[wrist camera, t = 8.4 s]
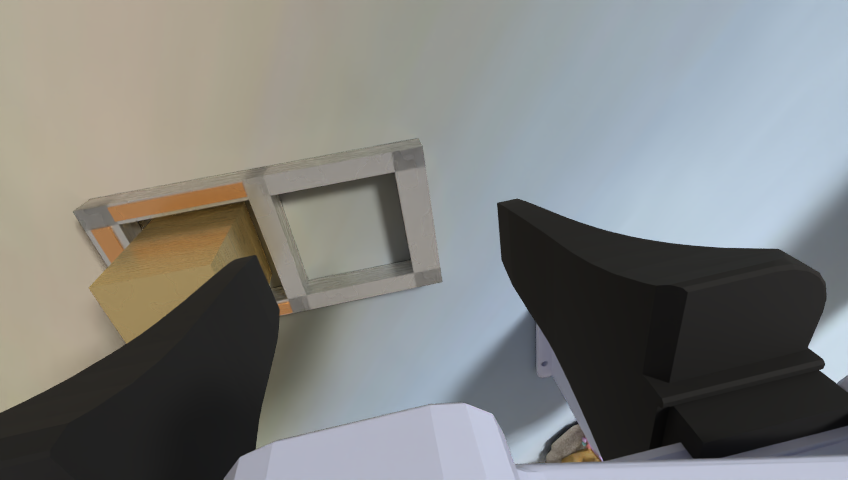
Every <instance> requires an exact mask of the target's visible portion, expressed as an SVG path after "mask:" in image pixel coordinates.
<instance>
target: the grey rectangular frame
mask: <svg viewBox="0 0 848 480" xmlns="http://www.w3.org/2000/svg"><path fill="white" fill-rule="evenodd" d="M392 172H394V174H395V179H396V184H397V190H398V195H399V200H400V205H401V211H402V216H403V221H404V227H405V232H406V237H407V243H408V248H409V253H410V259H411V260H407V261H402V262H397V263H393V264H388V265H383V266H378V267H373V268H368V269H363V270H358V271H353V272H349V273H344V274H339V275H334V276H329V277H324V278H319V279H314V280H309V281H308V278H307V275H306V272H305V269H304V266H303V264H302V261H301V258H300V255H299V252H298V249H297V246H296V244H295V241H294V238H293V235H292V232H291V229H290V226H289V224H288V221H287V218H286V215H285V212H284V209H283V206H282V204H281V201H280V198H279V195H278V194H282V193H287V192H293V191H298V190H303V189H308V188H314V187H319V186H324V185H329V184H335V183H340V182H345V181H350V180H356V179H361V178H366V177H371V176H377V175H382V174H387V173H392ZM245 200H249V201H250V204H251V206H252V209H253V211H254V214H255V216H256V219H257V222H258V224H259V227H260V229H261V232H262V234H263V237H264V239H265V242H266V244H267V247H268V250H269V252H270V255H271V257H272V260H273V262H274V265H275V267H276V270H277V272H278V275H279V278H280V280H281V283H282V285H283V286H280V287H275V288H271V290H272V292H273V295H274V297H275V299H276V302H277V304H278V306H279V308H280V315H279V316H282V315H287V314H291V313H296V312H301V311H306V310H311V309H315V308H320V307H325V306H330V305H335V304H339V303H344V302H349V301H354V300H358V299H363V298H368V297H373V296H378V295H382V294H387V293H392V292H397V291H402V290H406V289H411V288H416V287H421V286H425V285H430V284H435V283H440V282H442V276H441V269H440V263H439V256H438V249H437V242H436V235H435V228H434V222H433V215H432V208H431V201H430V194H429V187H428V181H427V174H426V167H425V160H424V153H423V146H422V144H421V142H420V140H419V139H418V138H416V139H411V140H406V141H400V142H395V143H390V144H384V145H379V146H373V147H368V148H363V149H357V150H352V151H347V152H341V153H336V154H330V155H325V156H320V157H314V158H309V159H303V160H298V161H293V162H287V163H282V164H277V165H271V166H266V167H260V168H255V169H250V170H244V171H239V172H233V173H228V174H223V175H217V176H212V177H207V178H201V179H196V180H190V181H185V182H180V183H174V184H169V185H164V186H158V187H153V188H147V189H142V190H137V191H131V192H126V193H120V194H115V195H110V196H104V197H99V198H94V199H89V200H88V201H87V202H85V203H84V204H83V205H81V206H80V207H78V208H77V209H76V210H74V211H73V213H74V215H75V216H76V218H77V219H78V221H79V222H80V224H81V225H82V227H83V229H84V230H85V232H86V233H87V235H88V236H89V238H90V239H91V241H92V243H93V244H94V246H95V247H96V249H97V250H98V252H99V253H100V255H101V257H102V258H103V260H104V261H105V263H106V264H107V266H108V267H109V266H110V264H111V263H112V262H113V261H114V260H115V259H116V258H117V257H118V256H119V255H120V254H121V253H122V252H123V250H124V249H125V248H126V247H127V246H128V245H129V244H130V243H131V242H132V241H133V240H134V239H135V238H136V237H137V235H138V234H139V233H140V232H141V231H142V228H141V226H140V225H139V223H138V221H140V220H145V219H151V218H156V217H161V216H166V215H172V214H177V213H182V212H187V211H193V210H198V209H203V208H208V207H214V206H219V205H224V204H229V203H235V202H240V201H245Z"/></svg>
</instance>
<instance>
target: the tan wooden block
mask: <svg viewBox="0 0 848 480" xmlns="http://www.w3.org/2000/svg"><path fill="white" fill-rule="evenodd" d="M252 255H256V256H257V258H258V260H259V263H260V265H261V267H262V270H263V272H264V274H265V276H266V279H267V281H268V283H269V284H270V280H271V277H272V271H271V269H270V266H269V264H268V261H267V258H266V256H265V253H264V251H263V248H262V245H261V243H260V240H259V238H258V235H257V233H256V230H255V227H254V225H253V222H252V220H251V217H250V214H249V212H248V209H247V207H246V204H245V202H240V203H234V204H229V205H223V206H218V207H212V208H207V209H201V210H195V211H190V212H184V213H179V214H173V215H168V216H162V217H156V218H153V219H152V220H151V221H150V223H149V224H148V225H147V226H146V227H145V228H144V229H143V230H142V231H141V232H140V233H139V234H138V235H137V237H136V238H135V239H134V240H133V241H132V242H131V243H130V244H129V245H128V246H127V247H126V248H125V249H124V250H123V252H122V253H121V254H120V255H119V256H118V257H117V258H116V259H115V260H114V261H113V262H112V263H111V264H110V266H109V267H108V268H107V269H106V270H105V271H104V272H103V273H102V274H101V275H100V276H99V277H98V278H97V279H96V281H95V282H94V283H93V284H92V285H91V286H90V287H89V289H90V291H91V292H92V294H93V295H94V297H95V298H96V300H97V301H98V302H99V304H100V305H101V307H102V308H103V310H104V311H105V313H106V314H107V316H108V317H109V319H110V320H111V322H112V323H113V325H114V326H115V328H116V329H117V331H118V332H119V333H120V335H121V336H122V338H123V339H124V341H125V342H126V344H127V343H128V342H130V341H131V340H133V339H134V338H136V337H137V336H139V335H140V334H142V333H143V332H144V331H146V330H147V329H149V328H150V327H151V326H153V325H154V324H155V323H157V322H158V321H159V320H161V319H162V318H163V317H164V316H166V315H167V314H168V313H169V312H171V311H172V310H173V309H174V308H176V307H177V306H178V305H179V304H181V303H182V302H183V301H184V300H186V299H187V298H188V297H189V296H190V295H191V294H193V293H194V292H195V291H196V290H197V289H198V288H200V287H201V286H202V285H203V284H204V283H205V282H207V281H208V280H209V279H210V278H211V277H212V276H214V275H215V274H216V273H217V272H218V271H220V270H221V269H222V268H223V267H225V266H226V265H227V264H229V263H230V262H231V261H233V260H235V259H238V258H243V257H248V256H252Z"/></svg>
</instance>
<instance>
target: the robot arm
mask: <svg viewBox="0 0 848 480" xmlns="http://www.w3.org/2000/svg"><path fill="white" fill-rule="evenodd" d="M497 207H498V220H499V232H500V245H501V258H502V262H503V264H504V267H505V269H506V271H507V274H508V276H509V278H510V280H511V283H512V285H513V287H514V288H515V290H516V292H517V293H518V295H519V296H520V298H521V300H522V301H523V303H524V304H525V306H526V307H527V309H528V311H529V312H530V314H531V315H532V317H533V318H534V320H535V322H536V372H537V374H538V376H539V377H541V378H545V377H550V376H553V378H554V380H555V382H556V384H557V385H558V387H559V389H560V391H561V393H562V394H563V396H564V398H565V400H566V402H567V404H568V405H569V407H570V409H571V411H572V413H573V415H574V416H575V418H576V420H577V422H578V424H579V426H580V427H581V429H582V431H583V433H584V435H585V437H586V438H587V440H588V442H589V443H590V445H591V446H592V448H593V449H594V450H595V451H596V452H597V453H598V454H599V455H600V456H601V457H602V459H603V461H601V462H567V463H532V464H514V461H513V458H512V455H511V452H510V450H509V447H508V444H507V441H506V438H505V436H504V433H503V431H502V429H501V428H500V426H499V424H498V422H497V421H496V419H495V417H494V416H493V414H492V413H489V412H486V411H484V410H481V409H479V408H476V407H474V406H471V405H468V404H466V403H462V402H458V403H440V404H428V405H424V406H419V407H415V408H411V409H407V410H403V411H398V412H394V413H390V414H386V415H382V416H377V417H373V418H369V419H365V420H360V421H356V422H352V423H348V424H344V425H339V426H335V427H331V428H327V429H323V430H318V431H314V432H310V433H306V434H302V435H297V436H293V437H289V438H285V439H281V440H276V441H274V442H272V443H270V444H267V445H265V446H263V447H260V448H258V449H256V441H257V432H258V424H259V418H260V413H261V407H262V403H263V399H264V394H265V390H266V386H267V382H268V378H269V374H270V370H271V366H272V361H273V357H274V353H275V348H276V344H277V339H278V330H279V315H280V308H279V306H278V304H277V302H276V299H275V297H274V295H273V292H272V290H271V288H270V286H269V283H268V281H267V279H266V276H265V274H264V272H263V270H262V267H261V265H260V263H259V260H258V258H257V256H256V255H252V256H248V257H243V258H238V259H235V260H233V261H231V262H230V263H229V264H227V265H226V266H225V267H223V268H222V269H221V270H220V271H218V272H217V273H216V274H215V275H214V276H212V277H211V278H210V279H209V280H208V281H207V282H205V283H204V284H203V285H202V286H201V287H200V288H198V289H197V290H196V291H195V292H194V293H193V294H191V295H190V296H189V297H188V298H187V299H186V300H184V301H183V302H182V303H181V304H179V305H178V306H177V307H176V308H174V309H173V310H172V311H171V312H169V313H168V314H167V315H166V316H164V317H163V318H162V319H161V320H159V321H158V322H157V323H155V324H154V325H153V326H151V327H150V328H149V329H147V330H146V331H144V332H143V333H142V334H140V335H139V336H137V337H136V338H134V339H133V340H131V341H130V342H128V343H127V344H125V345H124V346H123V347H121V348H120V349H118V350H116V351H115V352H113V353H112V354H110V355H108V356H107V357H105V358H103V359H102V360H100V361H98V362H96V363H95V364H93V365H91V366H90V367H88V368H86V369H85V370H83V371H81V372H80V373H78V374H76V375H74V376H73V377H71V378H69V379H67V380H65V381H64V382H62V383H60V384H58V385H56V386H54V387H52V388H50V389H48V390H47V391H45V392H43V393H41V394H39V395H37V396H35V397H33V398H31V399H29V400H27V401H25V402H23V403H21V404H18V405H16V406H14V407H12V408H10V409H8V410H6V411H4V412H2V413H0V480H848V375H847V376H846V377H844V378H843V379H842V380H840V381H839V382H838V383H837V384H836V383H835V382H834V381H832V380H831V379H830V378H828V377H827V376H826V375H825V374H823V373H822V372H821V371H819V370H821V369H823V368H824V366H825V363H824V360H823V359H822V358H821V357H819V356H818V355H817V354H815V353H814V352H813V351H811V350H810V349H809V348H808V345H809V343H810V341H811V338H812V336H813V334H814V331H815V329H816V327H817V324H818V322H819V320H820V317H821V315H822V313H823V309H824V306H825V302H826V284H825V281H824V280H823V278H822V276H821V275H820V273H819V272H817V271H815V270H814V269H812V268H810V267H809V266H807V265H805V264H804V263H802V262H800V261H799V260H797V259H795V258H793V257H792V256H790V255H788V254H787V253H785V252H783V251H781V250H779V249H753V248H717V247H704V246H691V245H682V244H673V243H666V242H659V241H653V240H646V239H641V238H636V237H631V236H627V235H622V234H618V233H614V232H610V231H606V230H602V229H599V228H596V227H593V226H589V225H586V224H583V223H580V222H577V221H575V220H572V219H569V218H566V217H564V216H561V215H559V214H556V213H554V212H551V211H549V210H546V209H544V208H541V207H539V206H536V205H534V204H531V203H529V202H526V201H523V200H520V199H513V200H509V201H504V202H499V203H497ZM255 449H256V450H255Z"/></svg>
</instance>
